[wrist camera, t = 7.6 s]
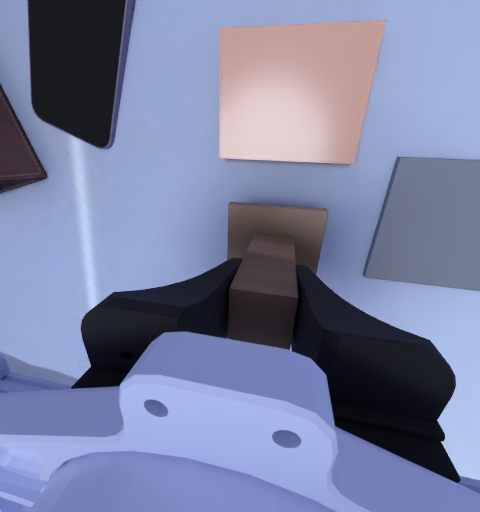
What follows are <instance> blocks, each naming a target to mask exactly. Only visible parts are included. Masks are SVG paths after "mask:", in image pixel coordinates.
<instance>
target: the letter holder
mask: <svg viewBox="0 0 480 512" xmlns="http://www.w3.org/2000/svg"><path fill="white" fill-rule="evenodd" d="M46 176H47V175H46V173H45V172H44V170H43V168H42V167H41V165H40V163H39V161H38V159H37V157H36V155H35V153H34V151H33V149H32V147H31V146H30V144H29V142H28V140H27V138H26V136H25V134H24V132H23V130H22V128H21V126H20V124H19V122H18V120H17V118H16V116H15V114H14V112H13V110H12V108H11V106H10V104H9V103H8V101H7V99H6V97H5V95H4V93H3V91H2V89H1V87H0V193H2V192H5V191H8V190H12V189H15V188H18V187H21V186H24V185H27V184H30V183H33V182H36V181H40V180H42V179H44V178H45V177H46Z"/></svg>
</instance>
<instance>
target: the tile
mask: <svg viewBox="0 0 480 512" xmlns="http://www.w3.org/2000/svg"><path fill="white" fill-rule="evenodd" d="M385 23H386V20H376V21H356V22H335V23H315V24H295V25H275V26H254V27H234V28H220V158H225V159H248V160H270V161H292V162H315V163H337V164H354V162H355V157H356V153H357V148H358V144H359V139H360V135H361V130H362V126H363V121H364V117H365V113H366V108H367V104H368V99H369V95H370V90H371V86H372V81H373V77H374V72H375V68H376V63H377V59H378V55H379V50H380V46H381V41H382V37H383V32H384V28H385Z"/></svg>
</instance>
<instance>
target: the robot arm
mask: <svg viewBox="0 0 480 512" xmlns="http://www.w3.org/2000/svg"><path fill="white" fill-rule="evenodd" d="M242 259H243V258H236V257H233V258H231V259H229V260H227V261H226V262H224V263H222V264H220V265H219V266H217V267H215V268H213V269H211V270H209V271H207V272H205V273H203V274H201V275H199V276H196V277H194V278H191V279H188V280H185V281H182V282H179V283H175V284H171V285H167V286H163V287H157V288H151V289H145V290H136V291H124V292H113V293H112V294H111V295H109V296H108V297H107V298H106V299H104V300H103V301H102V302H100V303H99V304H98V305H97V306H95V307H94V308H93V309H91V310H90V311H89V312H88V313H86V315H85V316H84V318H83V320H82V324H81V333H82V339H83V342H84V345H85V348H86V351H87V354H88V358H89V361H90V364H91V367H90V368H89V369H88V370H87V371H86V372H85V373H84V375H83V376H82V377H81V378H80V379H79V380H78V381H77V382H76V383H75V384H74V385H73V386H72V385H68V384H64V383H59V382H55V381H51V380H46V379H42V378H38V377H33V376H29V375H25V374H21V373H16V372H12V371H11V370H10V369H11V368H10V366H9V363H8V361H7V360H6V359H5V357H4V356H3V355H1V354H0V512H480V480H475V479H471V478H467V477H462V476H459V475H458V473H457V471H456V469H455V467H454V465H453V464H452V462H451V460H450V458H449V456H448V454H447V452H446V450H445V449H444V447H443V445H442V443H441V441H444V439H445V434H444V432H443V430H442V428H441V427H440V425H439V423H438V421H437V419H438V418H439V416H440V415H441V413H442V411H443V410H444V408H445V407H446V405H447V403H448V402H449V400H450V399H451V397H452V395H453V392H454V390H455V387H456V381H455V375H454V373H453V371H452V369H451V367H450V365H449V364H448V363H447V362H446V360H445V359H444V358H443V356H442V355H441V354H440V352H439V351H438V350H437V349H436V347H435V346H434V345H433V343H432V342H431V341H430V340H428V339H425V338H422V337H420V336H417V335H414V334H412V333H409V332H406V331H404V330H401V329H398V328H396V327H394V326H391V325H389V324H387V323H385V322H382V321H380V320H378V319H376V318H374V317H372V316H370V315H368V314H366V313H365V312H363V311H361V310H359V309H358V308H356V307H354V306H353V305H351V304H350V303H348V302H347V301H345V300H344V299H342V298H341V297H340V296H338V295H337V294H336V293H334V292H333V291H332V290H331V289H330V288H329V287H327V286H326V285H325V284H324V283H323V282H322V281H321V280H320V279H319V278H318V277H317V276H316V275H315V274H314V273H313V272H312V270H311V269H310V268H309V267H308V266H306V265H297V264H296V267H295V269H296V274H297V288H298V302H297V308H296V315H295V321H294V327H293V333H292V339H291V346H292V351H290V350H287V349H282V348H277V347H271V346H265V345H259V344H254V343H248V342H242V341H236V340H231V339H227V337H228V319H229V288H230V286H231V283H232V281H233V279H234V277H235V275H236V272H237V270H238V268H239V266H240V264H241V263H242Z"/></svg>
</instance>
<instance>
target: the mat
mask: <svg viewBox="0 0 480 512" xmlns="http://www.w3.org/2000/svg"><path fill="white" fill-rule="evenodd" d="M363 275H364V277H367V278H375V279H383V280H392V281H400V282H408V283H416V284H425V285H433V286H441V287H449V288H458V289H466V290H474V291H480V161H479V160H454V159H430V158H406V157H397V160H396V164H395V167H394V170H393V174H392V177H391V181H390V184H389V187H388V191H387V194H386V198H385V201H384V204H383V208H382V211H381V214H380V218H379V221H378V225H377V228H376V231H375V235H374V238H373V242H372V245H371V248H370V252H369V255H368V259H367V262H366V265H365V269H364V272H363Z"/></svg>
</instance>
